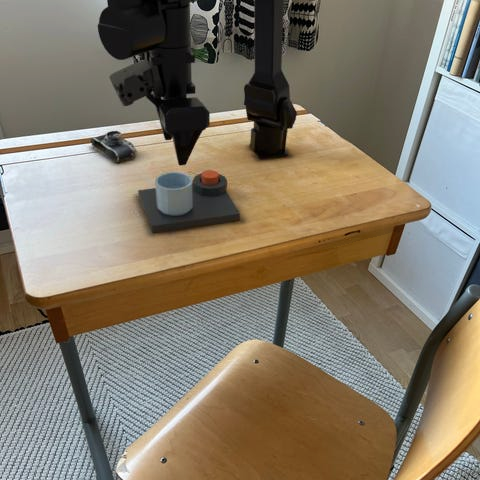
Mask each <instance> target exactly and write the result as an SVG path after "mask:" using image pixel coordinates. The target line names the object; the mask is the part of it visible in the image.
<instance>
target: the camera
mask: <svg viewBox="0 0 480 480" xmlns="http://www.w3.org/2000/svg"><path fill="white" fill-rule="evenodd" d="M90 143H91V146H92V148H93V149H94V150H95V151H97V152H99V154H101V155H103V156H105V157H107V158H108V159H110V160H111V161H112V162H114V163H119V162H121V161H124V160H128V159H132V158H134V157H135V155H136V154H135V153H137V152H138V150H137V148H136V147H134V144H133V143H132V142H131V141H128V140H127V139H126V138H125V137H123V136H122V132H120V131H118V130H110V131H108V132H107V133H105V134H102V135H99V136H96V137H92V138H90Z"/></svg>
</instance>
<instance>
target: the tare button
mask: <svg viewBox="0 0 480 480" xmlns="http://www.w3.org/2000/svg"><path fill="white" fill-rule="evenodd" d="M201 173H202V183H203V184H205V185H216V184H218V180H219V174H220V173H219V172H218V171H216V170H214V169H213V170H212V169H209V170H208V169H207V170H204V171H202V172H201Z"/></svg>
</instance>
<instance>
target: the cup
mask: <svg viewBox="0 0 480 480" xmlns="http://www.w3.org/2000/svg"><path fill="white" fill-rule="evenodd" d="M154 186H155V187H154V188H155V189H156V202H157V207H158V209H159V210H160V211H161V212H163V213H164V214H167V215H171V216H179V215H183V214H186V213H187V212H189V211H190V210H191V209H192V207H193V178H192V176H190V175H189V174H187V173H185V172H181V171H169V172H164V173H161V174H159V175H158V176H156V178H155V180H154Z"/></svg>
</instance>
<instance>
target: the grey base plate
mask: <svg viewBox="0 0 480 480" xmlns="http://www.w3.org/2000/svg"><path fill="white" fill-rule="evenodd" d="M218 174H219V180H218V184H216V185H205V184H203V183H202V172H201V173H198V174H196V175H194V177H193V178H192V180H193V207H192V209H191V210H190V211H189V212H187V213H186V214H183V215H179V216H171V215H167V214H164V213H163V212H161V211H160V210H159V209H158V207H157V202H156V189H155V187H154V188H153V187H152V188H146V189H138V190H137V194H138V195H137V196H138V199H139V201H140V204H141V207H142V209H143V212H144V215H145V218H146V220H147V222H148V226H149V228H150V231H151V232H152V234H155V233H162V232H168V231H170V232H171V231H177V230H183V229H190V228H196V227H204V226H210V225H218V224H224V223H225V224H226V223H230V222H237V221H238V222H239V221H240V220H241V212H240V210H239V209H238V207H237V206H236V205H235V203H234V202H233V200H232V198H231V197H230V195H229V194H228V192H227V189H228V179H227V178H226V176H225V175H223V174H221V173H218Z"/></svg>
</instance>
